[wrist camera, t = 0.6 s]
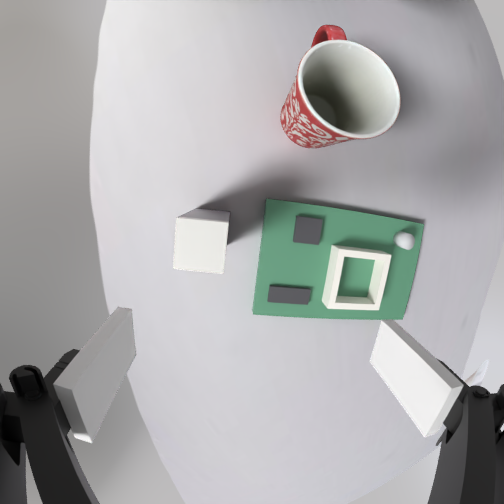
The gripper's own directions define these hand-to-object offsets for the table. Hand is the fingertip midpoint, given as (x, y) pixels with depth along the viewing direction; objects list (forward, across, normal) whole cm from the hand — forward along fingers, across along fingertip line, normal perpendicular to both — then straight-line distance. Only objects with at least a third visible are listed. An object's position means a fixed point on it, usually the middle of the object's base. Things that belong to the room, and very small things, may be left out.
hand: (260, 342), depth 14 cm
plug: (+21, -4, +3) cm, 22 cm away
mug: (+21, +6, +18) cm, 29 cm away
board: (+21, +13, -1) cm, 25 cm away
